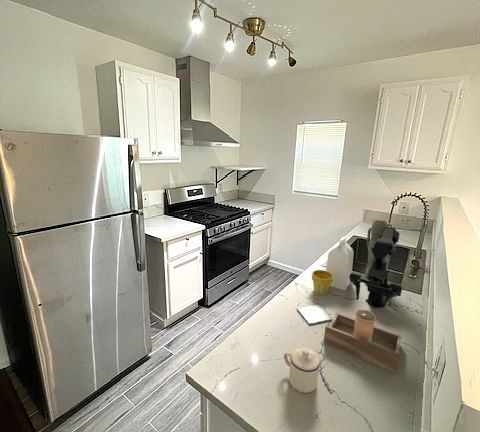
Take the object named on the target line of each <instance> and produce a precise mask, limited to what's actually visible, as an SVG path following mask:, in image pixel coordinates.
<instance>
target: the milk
mask: <svg viewBox="0 0 480 432" xmlns="http://www.w3.org/2000/svg"><path fill="white" fill-rule="evenodd" d="M346 240H347V239H346V237H345V236H342V237H341V238H340V239H339V243H337V244H336V245H335V246H333V247H332V248H331V249H330V250H329V251H328V255H327V260H326V268H325V271H328V272H330V273H331V274H332V275H333V281H332V283H331V284H330V287H332V288H336V289H339V290H341V291H342V290H343V291H346V290H347V289H348V287H349V285H350V283H351V282H350V279H349V276H350V273H352V272H353V265H354V264H353V262H354V250H353V247H351V246H350V244H349V243H347V241H346Z"/></svg>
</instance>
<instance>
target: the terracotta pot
mask: <svg viewBox="0 0 480 432" xmlns="http://www.w3.org/2000/svg"><path fill="white" fill-rule="evenodd" d="M354 314H355V315H354V316H355V318H354V319H355V325H354V329H353V331H352V332H353V334H352V335H353V336H355V337H358V338H360V339H363V340H366V341H368V342H371V343H372V341H373V336H372V335H373V329H374V326H375V322H376V321H377V316H376V314H374V313H373V312H372V311H369V310H367V309H358V310H355V313H354Z"/></svg>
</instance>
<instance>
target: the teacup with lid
mask: <svg viewBox="0 0 480 432" xmlns="http://www.w3.org/2000/svg"><path fill="white" fill-rule="evenodd" d="M288 356H289V359H288ZM283 360H284V363H285V364H286V365H287V366H288V367H289V374H288V375H289V377H288V380H289V383H290V385H291V387H292V388H294V390H296V391H298V392H300V393H304V394H308V393H312V392H314V391H315V390H316V389H317V386H318V380H319V379H318V378H319V369H320V365H321V360H320V357H319V355H318V354H317V353H316V352H315V351H314V350H312V349H310V348H307V347H303V346H301V347H296V348H294V349H293V350H292V351H286V352H284V354H283Z"/></svg>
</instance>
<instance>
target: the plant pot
mask: <svg viewBox="0 0 480 432" xmlns="http://www.w3.org/2000/svg"><path fill="white" fill-rule="evenodd" d="M311 280H312V283H313V291H314V293H316V294H318V295H326V294H327V293H328V291H329V289H330V287H331V286H330V284H331V283H332V281H333V275H332V274H331V273H330V272H328V271H326V269H325V270H324V269H316V270H313V271H312V273H311Z"/></svg>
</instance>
